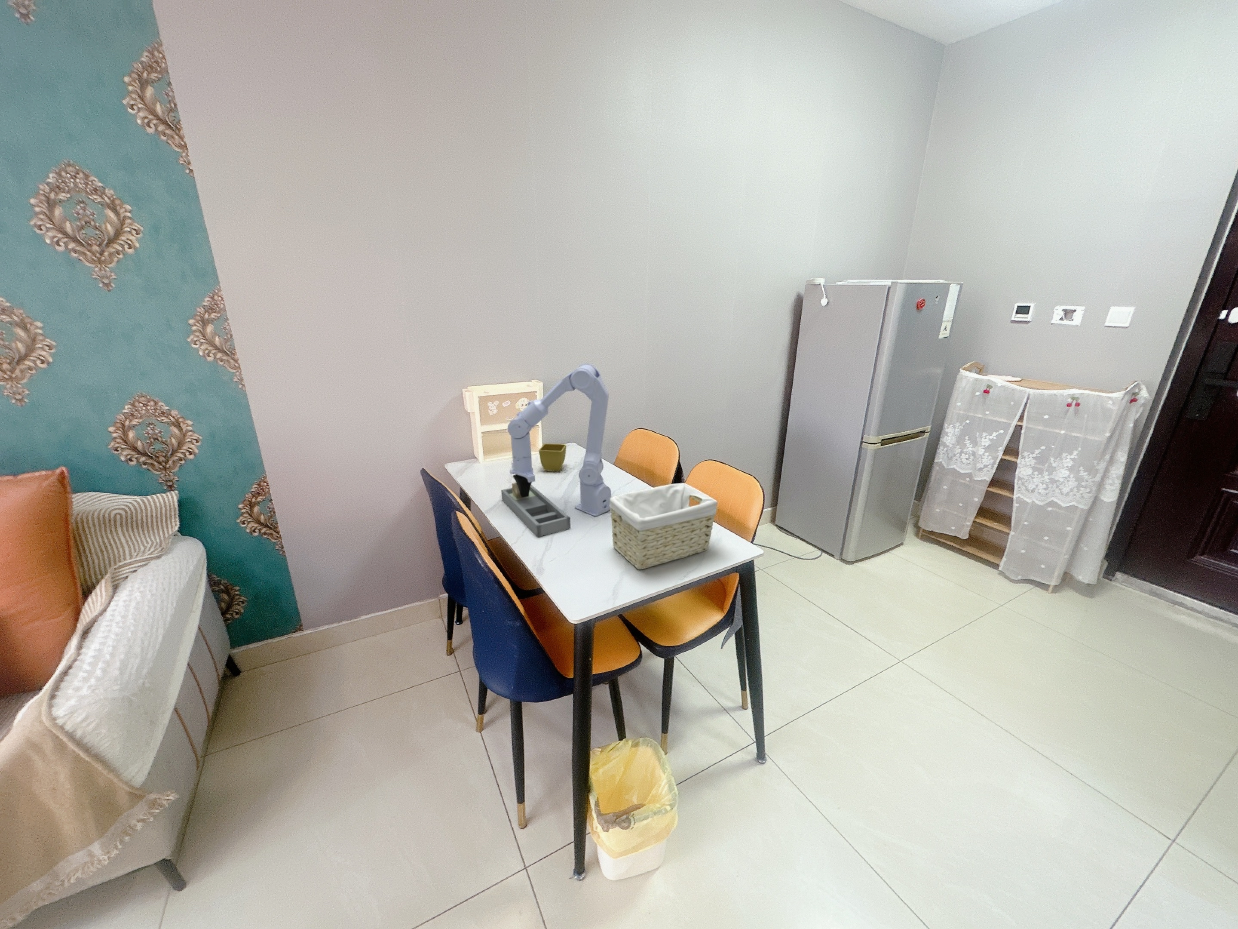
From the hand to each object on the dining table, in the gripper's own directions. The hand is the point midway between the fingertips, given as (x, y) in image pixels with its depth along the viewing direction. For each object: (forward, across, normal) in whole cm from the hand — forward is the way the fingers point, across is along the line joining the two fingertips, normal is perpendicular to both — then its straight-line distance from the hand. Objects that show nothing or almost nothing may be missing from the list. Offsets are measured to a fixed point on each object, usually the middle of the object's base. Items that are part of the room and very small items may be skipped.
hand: (524, 496), depth 153 cm
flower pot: (+3, -25, +21) cm, 33 cm away
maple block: (+1, -3, 0) cm, 4 cm away
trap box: (+3, +7, 0) cm, 8 cm away
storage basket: (+3, +45, +20) cm, 50 cm away
